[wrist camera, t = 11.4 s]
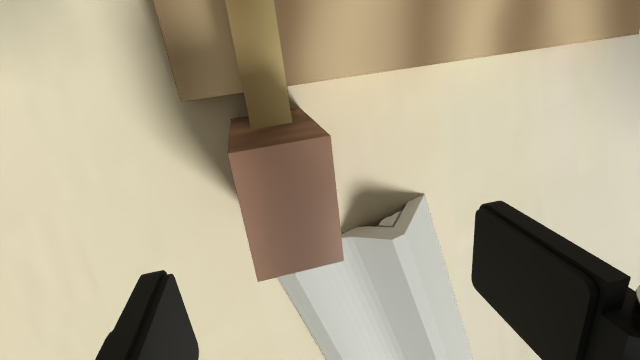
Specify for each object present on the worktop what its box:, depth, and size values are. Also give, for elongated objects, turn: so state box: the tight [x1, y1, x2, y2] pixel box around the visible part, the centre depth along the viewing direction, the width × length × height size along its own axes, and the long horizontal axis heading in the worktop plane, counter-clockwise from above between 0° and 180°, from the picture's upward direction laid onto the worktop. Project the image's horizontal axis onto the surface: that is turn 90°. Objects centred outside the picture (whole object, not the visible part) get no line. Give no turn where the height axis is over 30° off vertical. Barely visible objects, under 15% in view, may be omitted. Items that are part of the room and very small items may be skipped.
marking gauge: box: [225, 0, 344, 282], centre depth 15 cm, size 4×16×7 cm, turn 7°
